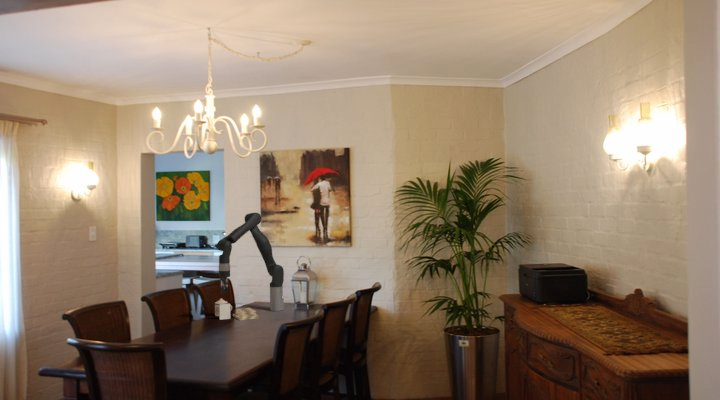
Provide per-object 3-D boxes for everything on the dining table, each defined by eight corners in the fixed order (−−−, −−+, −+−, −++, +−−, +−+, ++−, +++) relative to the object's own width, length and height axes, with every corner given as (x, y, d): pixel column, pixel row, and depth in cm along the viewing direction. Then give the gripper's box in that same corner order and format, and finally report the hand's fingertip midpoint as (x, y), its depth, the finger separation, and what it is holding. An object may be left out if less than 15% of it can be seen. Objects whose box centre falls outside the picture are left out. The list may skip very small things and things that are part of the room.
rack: (252, 314, 396) (252, 307, 396) (259, 318, 381) (259, 310, 381) (232, 316, 390) (232, 309, 390) (239, 320, 375) (238, 312, 375)
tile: (229, 318, 384) (229, 303, 384) (230, 318, 381) (230, 303, 382) (219, 319, 380) (219, 304, 381) (220, 319, 378) (219, 304, 378)
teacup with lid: (213, 316, 389) (213, 299, 390) (216, 314, 398) (215, 297, 399) (231, 316, 390) (230, 299, 390) (233, 313, 399) (232, 297, 400)
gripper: (232, 270, 377) (232, 294, 377) (227, 268, 390) (227, 292, 389) (221, 271, 374) (221, 295, 373) (216, 269, 386) (216, 293, 386)
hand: (224, 293), depth 381 cm, fingers open, 8 cm apart
